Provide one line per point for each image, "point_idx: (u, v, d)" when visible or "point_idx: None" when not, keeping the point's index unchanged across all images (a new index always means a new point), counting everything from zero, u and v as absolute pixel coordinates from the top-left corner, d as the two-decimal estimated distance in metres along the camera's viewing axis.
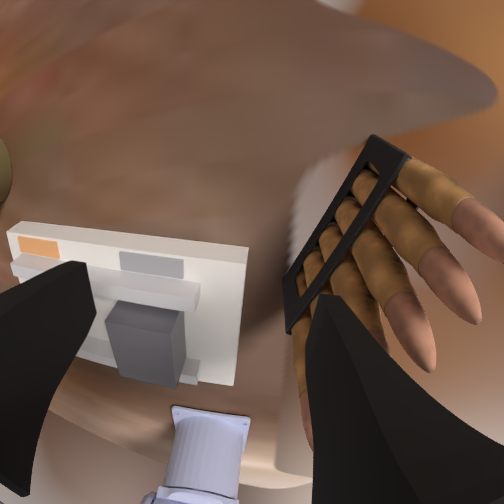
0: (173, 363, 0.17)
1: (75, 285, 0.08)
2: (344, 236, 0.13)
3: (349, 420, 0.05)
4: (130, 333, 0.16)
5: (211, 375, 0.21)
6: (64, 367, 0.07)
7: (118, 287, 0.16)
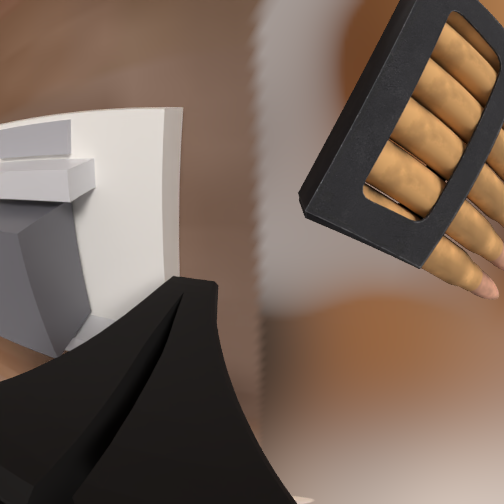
0: (37, 303, 0.08)
1: None
2: (480, 131, 0.07)
3: None
4: None
5: None
6: None
7: None
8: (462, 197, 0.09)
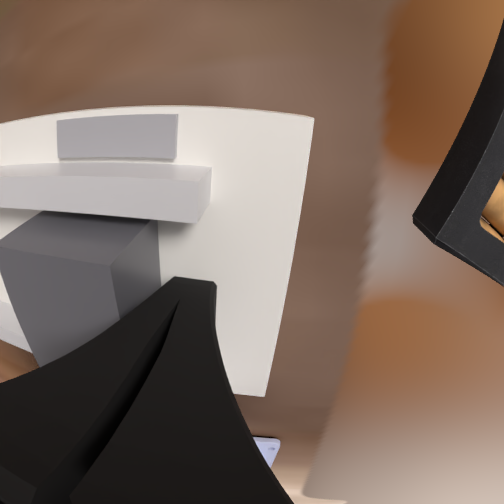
0: None
1: None
2: None
3: None
4: (34, 270, 0.06)
5: None
6: None
7: (41, 179, 0.07)
8: None
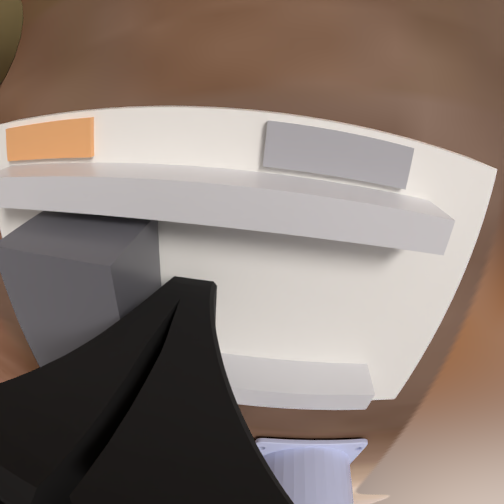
0: None
1: None
2: None
3: None
4: (34, 270, 0.06)
5: None
6: None
7: (279, 194, 0.07)
8: None
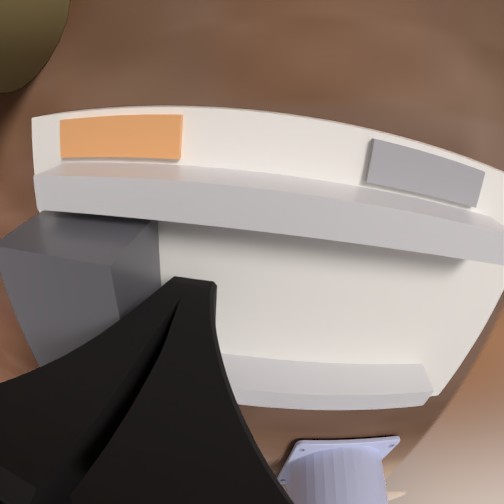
0: None
1: None
2: None
3: None
4: (34, 270, 0.06)
5: None
6: None
7: (397, 213, 0.06)
8: None
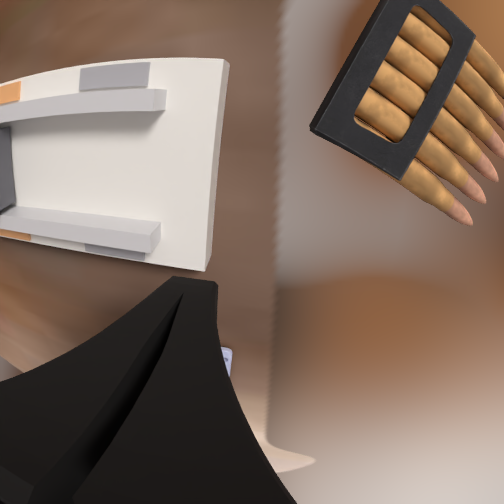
0: None
1: None
2: (436, 84, 0.11)
3: None
4: None
5: (174, 251, 0.16)
6: None
7: (69, 95, 0.11)
8: (427, 129, 0.12)
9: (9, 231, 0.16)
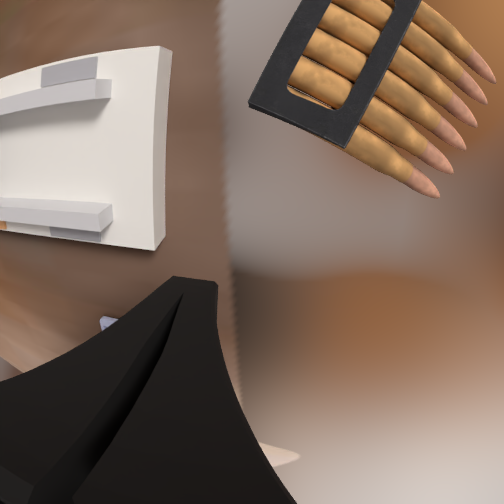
0: None
1: None
2: (378, 46, 0.11)
3: None
4: None
5: (126, 231, 0.16)
6: None
7: (29, 92, 0.11)
8: (370, 93, 0.12)
9: None
